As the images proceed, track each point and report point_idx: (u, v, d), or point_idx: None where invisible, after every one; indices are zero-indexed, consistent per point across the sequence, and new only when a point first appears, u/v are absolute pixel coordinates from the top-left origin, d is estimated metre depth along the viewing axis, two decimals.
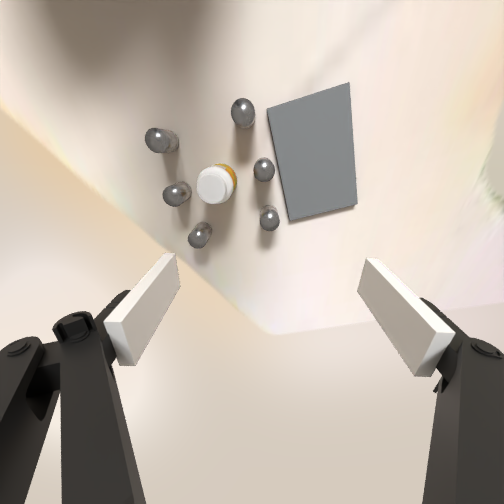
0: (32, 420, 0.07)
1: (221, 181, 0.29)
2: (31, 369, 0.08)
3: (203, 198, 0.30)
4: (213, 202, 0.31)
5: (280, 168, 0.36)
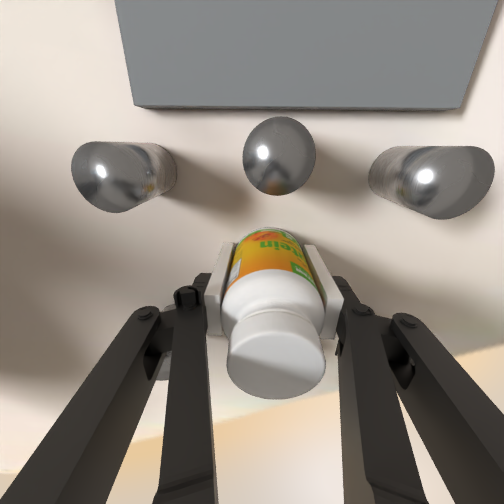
0: (144, 379, 0.08)
1: (261, 336, 0.08)
2: (150, 335, 0.09)
3: (294, 393, 0.09)
4: (319, 376, 0.09)
5: (289, 102, 0.12)
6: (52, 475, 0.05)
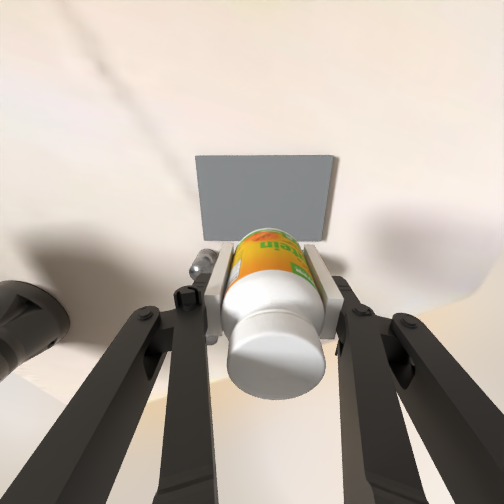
0: (144, 379, 0.08)
1: (261, 337, 0.08)
2: (150, 335, 0.09)
3: (294, 393, 0.09)
4: (319, 376, 0.09)
5: None
6: (52, 475, 0.05)
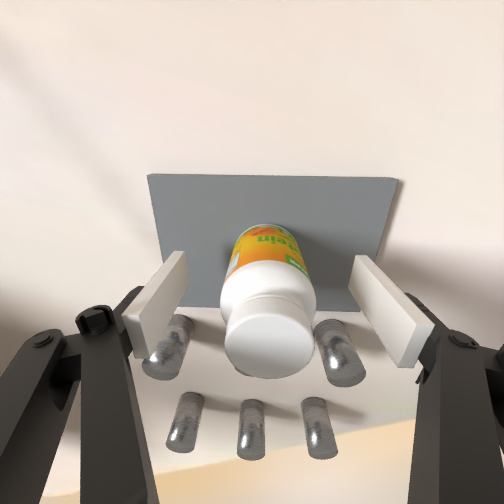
0: (53, 410, 0.07)
1: (256, 318, 0.09)
2: (53, 361, 0.08)
3: (286, 372, 0.10)
4: (308, 356, 0.10)
5: None
6: None
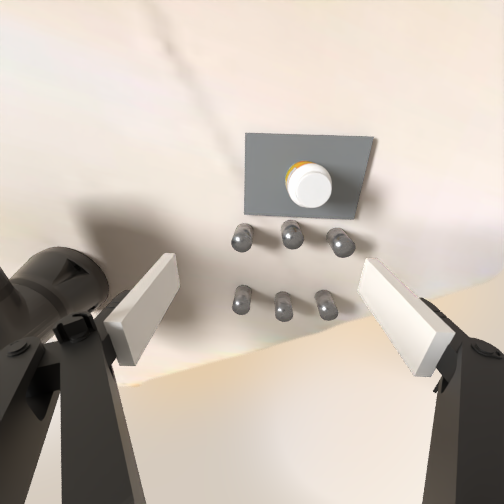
0: (32, 420, 0.07)
1: (310, 174, 0.24)
2: (31, 369, 0.08)
3: (319, 203, 0.26)
4: (329, 194, 0.25)
5: (297, 215, 0.36)
6: None
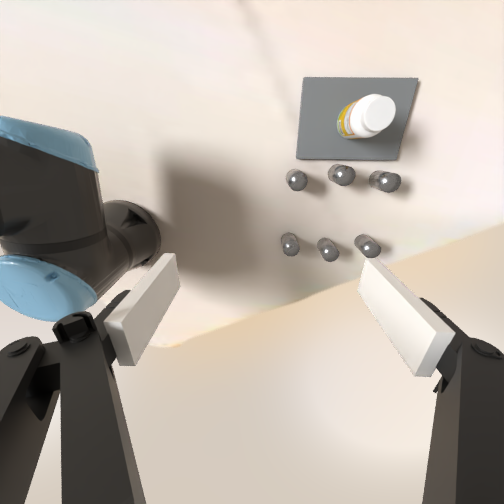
0: (32, 420, 0.07)
1: (378, 98, 0.28)
2: (31, 369, 0.08)
3: (383, 126, 0.29)
4: (393, 116, 0.29)
5: (344, 158, 0.40)
6: None
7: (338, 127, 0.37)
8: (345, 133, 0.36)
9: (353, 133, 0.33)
